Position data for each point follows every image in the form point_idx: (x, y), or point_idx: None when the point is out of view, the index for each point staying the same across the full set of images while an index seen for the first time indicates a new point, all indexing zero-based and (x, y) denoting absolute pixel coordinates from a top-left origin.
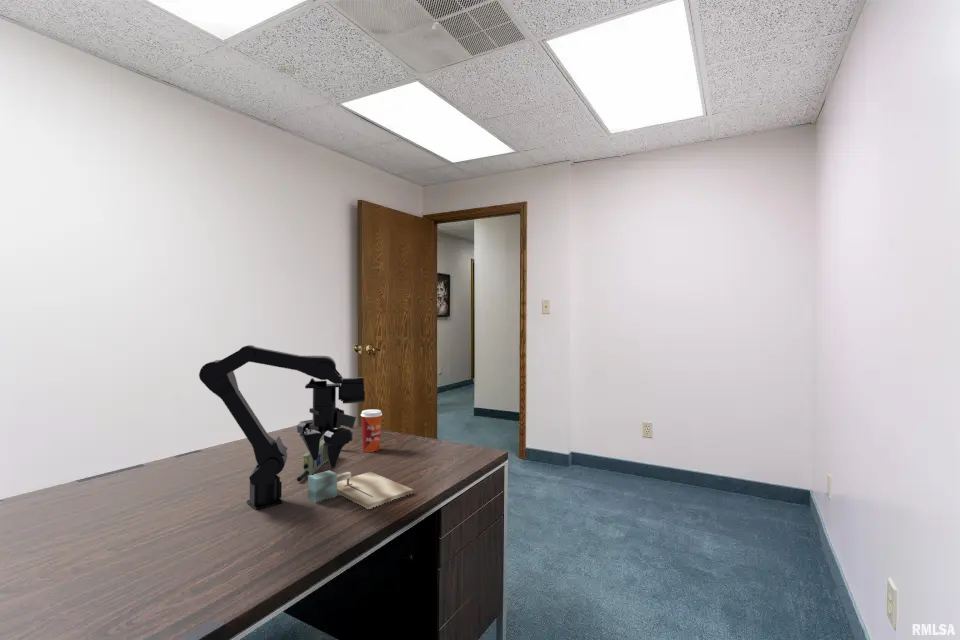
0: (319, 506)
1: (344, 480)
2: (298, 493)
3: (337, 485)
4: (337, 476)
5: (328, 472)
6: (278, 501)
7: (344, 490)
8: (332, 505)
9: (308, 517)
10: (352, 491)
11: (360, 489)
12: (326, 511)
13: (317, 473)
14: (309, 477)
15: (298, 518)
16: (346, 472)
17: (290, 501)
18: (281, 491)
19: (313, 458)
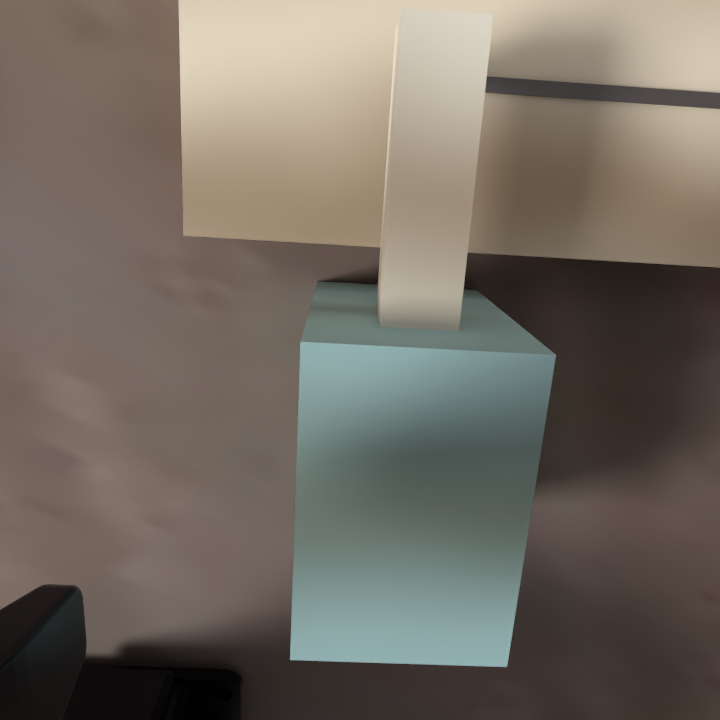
0: (545, 516)
1: (231, 2)
2: (124, 493)
3: (327, 183)
4: (453, 274)
5: (389, 411)
6: (232, 710)
7: (525, 219)
8: (622, 435)
9: (649, 661)
10: (630, 176)
11: (662, 64)
12: (679, 529)
13: (296, 537)
14: (328, 649)
15: (602, 708)
16: (412, 60)
17: (255, 615)
18: (153, 714)
19: (67, 697)
